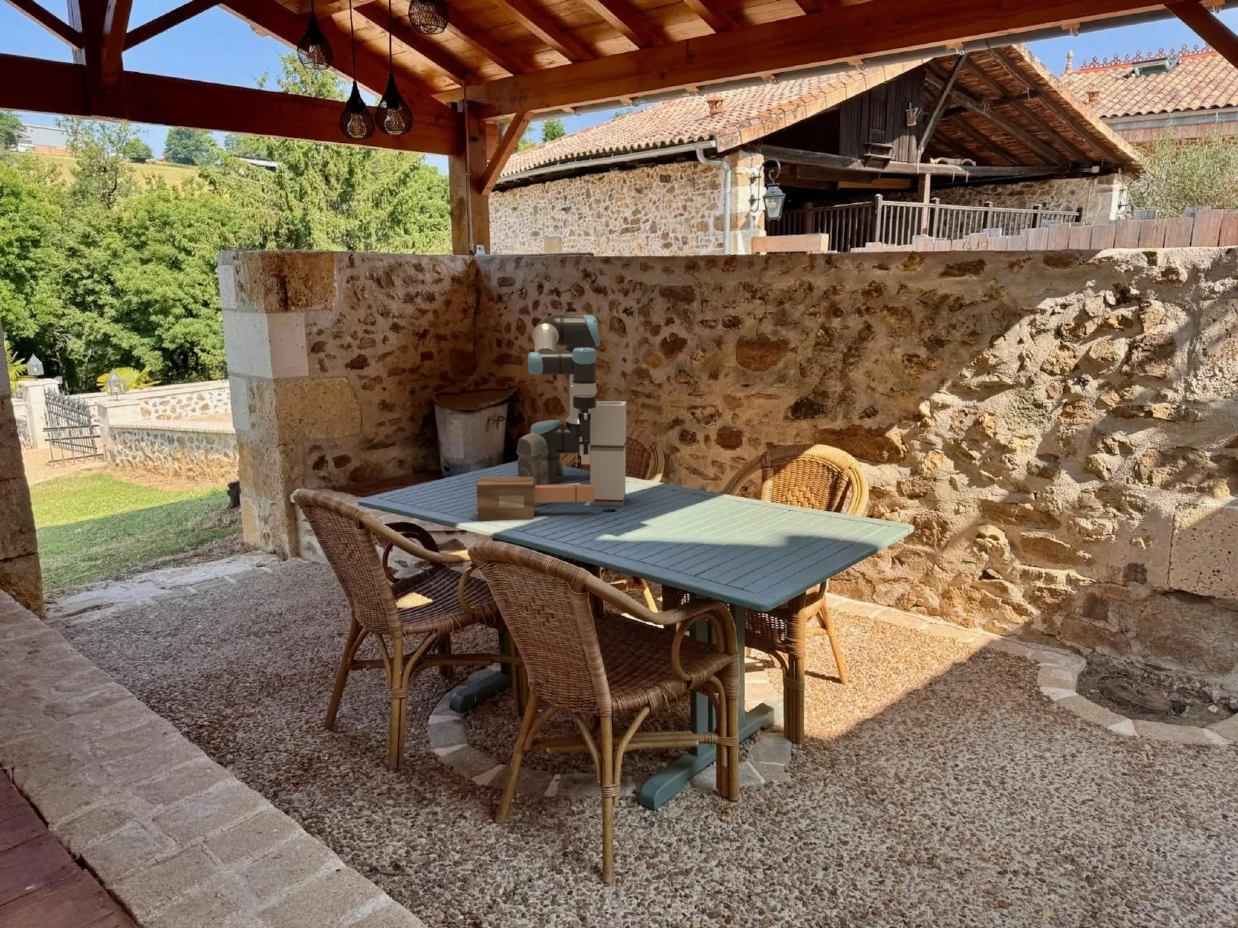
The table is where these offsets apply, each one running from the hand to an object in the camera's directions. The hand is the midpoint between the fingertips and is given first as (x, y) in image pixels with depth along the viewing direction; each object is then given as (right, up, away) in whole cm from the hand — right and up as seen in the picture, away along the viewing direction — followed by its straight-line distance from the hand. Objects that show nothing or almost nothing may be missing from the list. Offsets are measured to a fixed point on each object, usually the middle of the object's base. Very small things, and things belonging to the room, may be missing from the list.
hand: (584, 459), depth 272 cm
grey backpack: (-18, -15, +19) cm, 30 cm away
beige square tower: (+8, -15, +20) cm, 26 cm away
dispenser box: (-26, -18, +1) cm, 32 cm away
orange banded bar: (-10, -14, +2) cm, 17 cm away
